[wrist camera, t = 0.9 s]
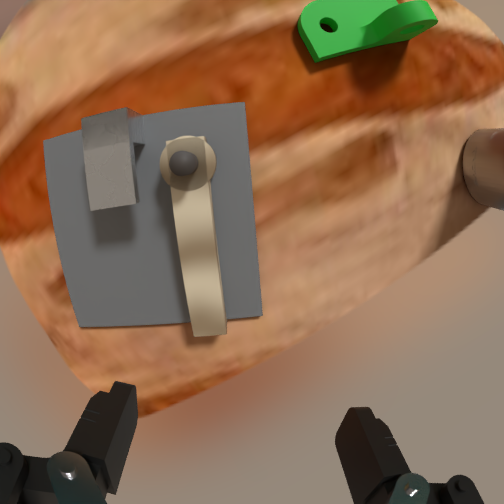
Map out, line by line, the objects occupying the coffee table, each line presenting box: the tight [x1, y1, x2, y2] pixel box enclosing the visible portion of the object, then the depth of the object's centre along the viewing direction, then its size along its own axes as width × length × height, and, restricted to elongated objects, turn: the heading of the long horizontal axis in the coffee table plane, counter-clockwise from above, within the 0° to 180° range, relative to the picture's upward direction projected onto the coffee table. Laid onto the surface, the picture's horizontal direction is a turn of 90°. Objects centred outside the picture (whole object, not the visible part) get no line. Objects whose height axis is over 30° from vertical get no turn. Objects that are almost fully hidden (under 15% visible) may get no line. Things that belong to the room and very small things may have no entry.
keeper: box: [81, 107, 145, 211], centre depth 23 cm, size 4×8×4 cm, turn 5°
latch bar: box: [160, 136, 227, 337], centre depth 25 cm, size 17×4×5 cm, turn 5°
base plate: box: [43, 102, 263, 327], centre depth 28 cm, size 20×20×1 cm
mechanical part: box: [298, 0, 438, 63], centre depth 20 cm, size 12×6×8 cm, turn 115°
